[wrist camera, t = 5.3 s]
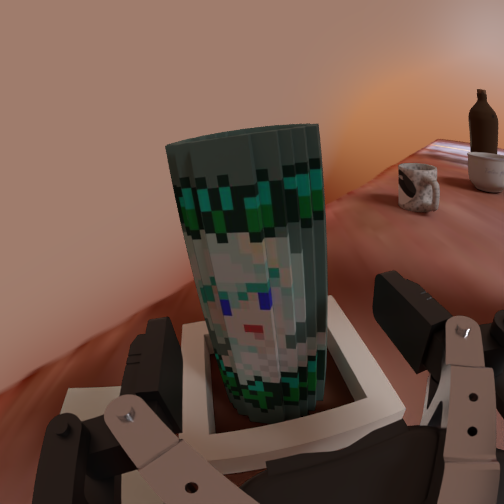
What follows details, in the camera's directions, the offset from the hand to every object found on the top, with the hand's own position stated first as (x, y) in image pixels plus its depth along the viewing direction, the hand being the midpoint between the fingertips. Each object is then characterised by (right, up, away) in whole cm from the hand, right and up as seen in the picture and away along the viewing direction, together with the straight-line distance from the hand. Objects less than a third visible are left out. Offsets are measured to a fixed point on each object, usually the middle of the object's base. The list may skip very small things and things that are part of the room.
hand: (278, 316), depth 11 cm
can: (+1, -6, +7) cm, 10 cm away
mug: (+26, +9, +32) cm, 42 cm away
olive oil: (+72, +29, +60) cm, 99 cm away
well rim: (+1, -6, +7) cm, 9 cm away
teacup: (+52, +16, +39) cm, 67 cm away
